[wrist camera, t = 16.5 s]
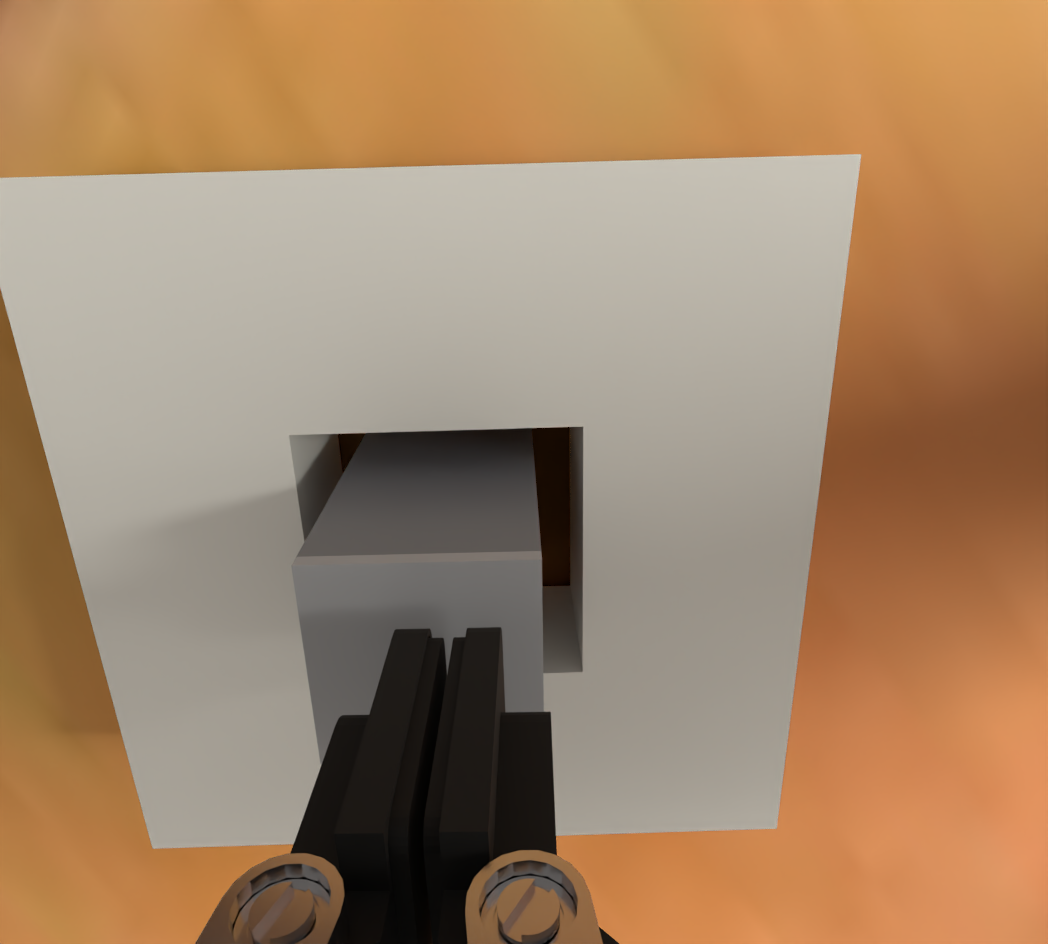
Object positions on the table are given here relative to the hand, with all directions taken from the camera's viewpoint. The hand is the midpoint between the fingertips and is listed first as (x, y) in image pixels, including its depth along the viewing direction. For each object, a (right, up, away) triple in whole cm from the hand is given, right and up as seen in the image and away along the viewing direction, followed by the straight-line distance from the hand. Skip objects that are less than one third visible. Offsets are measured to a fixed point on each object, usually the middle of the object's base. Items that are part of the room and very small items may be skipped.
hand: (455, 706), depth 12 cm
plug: (-1, +3, +8) cm, 9 cm away
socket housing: (-1, +3, +8) cm, 9 cm away
